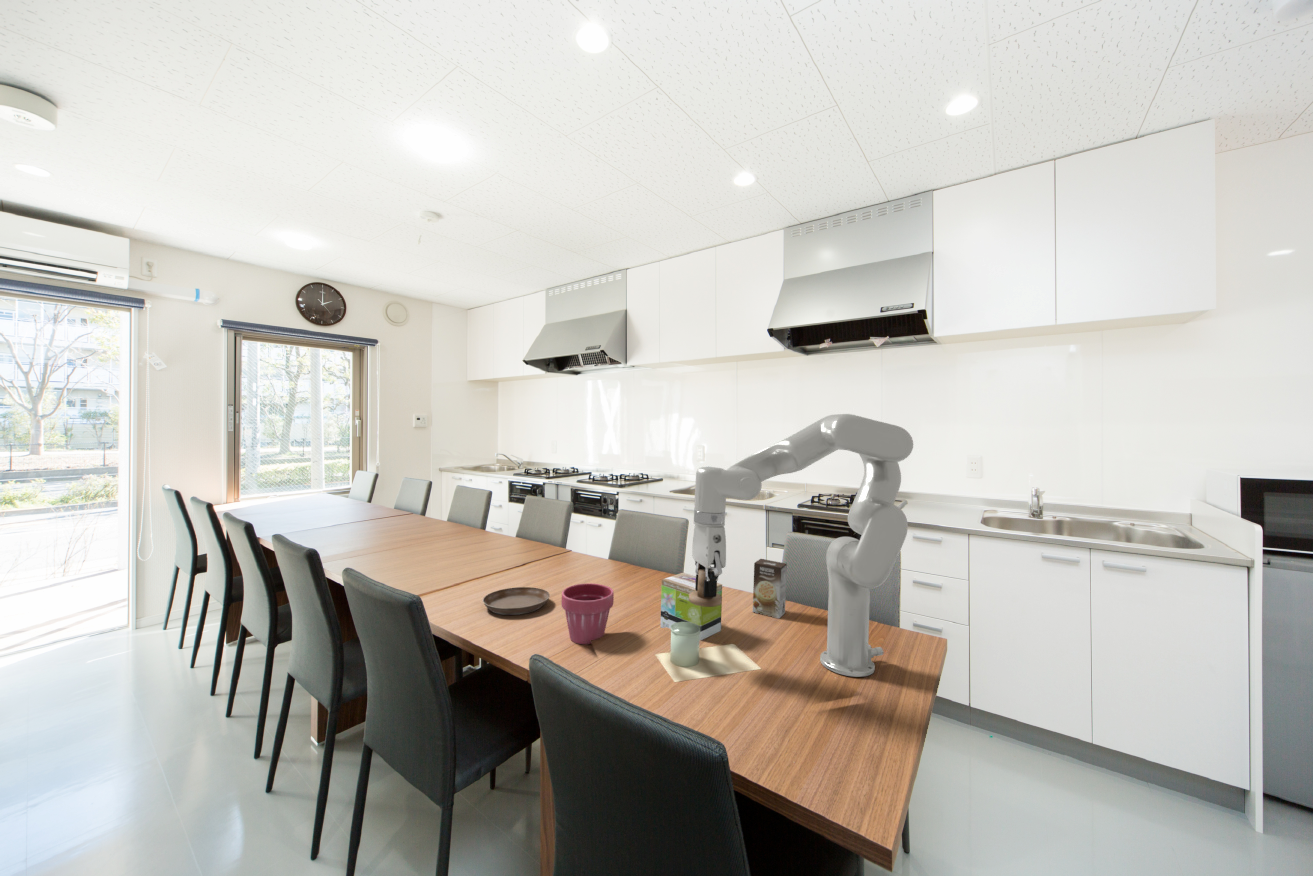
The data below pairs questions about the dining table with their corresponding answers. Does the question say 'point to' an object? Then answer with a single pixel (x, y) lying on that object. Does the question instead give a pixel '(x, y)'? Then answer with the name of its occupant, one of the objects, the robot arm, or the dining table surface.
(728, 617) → the dining table surface
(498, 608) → the plant saucer
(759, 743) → the dining table surface
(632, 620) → the dining table surface
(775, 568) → the coffee box
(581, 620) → the plant pot
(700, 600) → the lid
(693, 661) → the jar
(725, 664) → the board
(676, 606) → the tea box
